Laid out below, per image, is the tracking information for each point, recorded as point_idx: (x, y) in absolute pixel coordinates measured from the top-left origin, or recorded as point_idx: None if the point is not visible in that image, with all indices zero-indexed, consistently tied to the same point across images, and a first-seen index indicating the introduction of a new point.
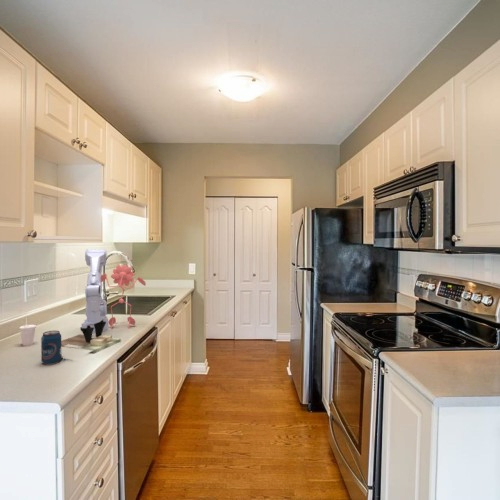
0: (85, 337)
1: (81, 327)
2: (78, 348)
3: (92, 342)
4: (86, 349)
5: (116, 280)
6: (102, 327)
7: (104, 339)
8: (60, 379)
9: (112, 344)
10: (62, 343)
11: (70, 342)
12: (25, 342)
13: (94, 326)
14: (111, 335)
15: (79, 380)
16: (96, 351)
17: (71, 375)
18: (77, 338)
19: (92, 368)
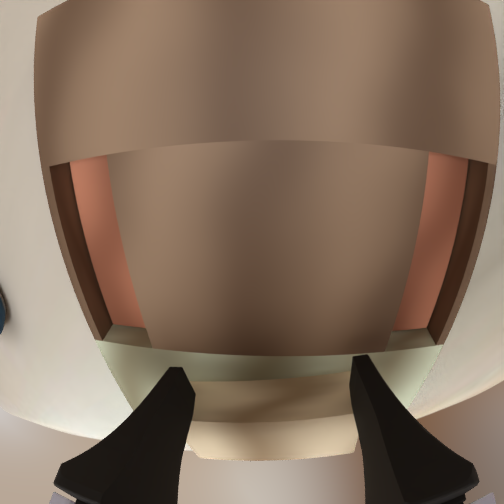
0: (147, 406)
1: (64, 490)
2: (95, 339)
3: None
4: (120, 387)
5: None
6: (368, 487)
7: (247, 458)
8: (4, 387)
9: None
10: (102, 65)
11: (164, 117)
12: None
13: (387, 463)
14: (351, 451)
15: (34, 419)
16: None
17: (24, 400)
18: (358, 60)
19: (74, 429)
